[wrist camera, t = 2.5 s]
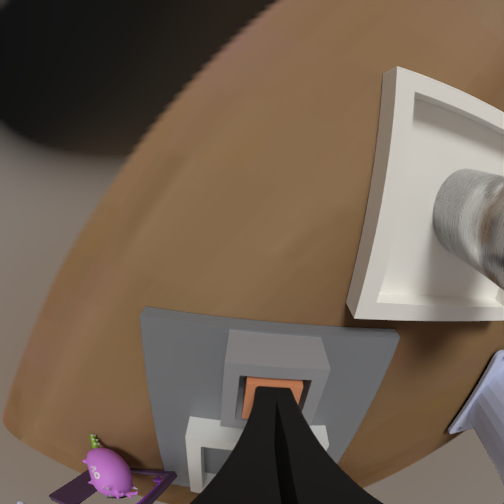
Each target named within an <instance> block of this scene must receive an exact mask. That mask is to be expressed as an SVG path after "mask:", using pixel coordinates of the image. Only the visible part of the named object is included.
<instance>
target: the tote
mask: <svg viewBox="0 0 504 504" xmlns="http://www.w3.org/2000/svg"><path fill="white" fill-rule="evenodd" d="M460 169H474V170H478V171H483V172H488V173H492V174H497V175H501V176H504V112H502V111H500V110H498V109H496V108H495V107H493V106H491V105H489V104H487V103H485V102H483V101H481V100H479V99H477V98H475V97H473V96H471V95H469V94H467V93H465V92H462V91H460V90H458V89H456V88H453V87H451V86H449V85H446V84H444V83H442V82H439V81H437V80H434V79H432V78H429V77H427V76H424V75H421V74H418V73H416V72H413V71H410V70H407V69H404V68H401V67H398V66H396V67H394V68H392V69H390V70H389V71H387V72H385V73H383V81H382V95H381V107H380V117H379V127H378V136H377V144H376V152H375V159H374V166H373V173H372V179H371V186H370V192H369V198H368V203H367V209H366V214H365V220H364V225H363V230H362V235H361V240H360V244H359V249H358V254H357V258H356V263H355V267H354V271H353V276H352V280H351V284H350V288H349V292H348V296H347V300H346V304H347V306H348V308H349V310H350V312H351V313H352V315H353V317H354V319H375V320H404V321H497V320H504V290H503V289H501V288H500V287H499V286H497V285H496V284H495V283H493V282H492V281H490V280H489V279H488V278H486V277H485V276H484V275H482V274H481V273H479V272H478V271H477V270H475V269H474V268H472V267H471V266H470V265H468V264H467V263H465V262H464V261H462V260H461V259H459V258H458V257H456V256H455V255H453V254H452V253H450V252H449V251H448V250H446V249H445V248H444V247H443V246H442V245H441V244H440V242H439V241H438V239H437V236H436V234H435V230H434V225H433V208H434V203H435V199H436V196H437V193H438V191H439V189H440V187H441V185H442V184H443V182H444V181H445V180H446V179H447V178H448V177H449V176H450V175H451V174H452V173H454V172H456V171H457V170H460Z"/></svg>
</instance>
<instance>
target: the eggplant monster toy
mask: <svg viewBox="0 0 504 504" xmlns="http://www.w3.org/2000/svg"><path fill="white" fill-rule="evenodd" d="M95 436H96V434H95V435H93V434H91V435H90V438H91V442H92V447H93V449H92V450H90V451H89V452H88V454H87V459H84V460H82V461H83V462H84V463H86V464H87V466H88V470H87V471H85V472H84V473H82V474H81V475H80V476H78V477H77V478H75V479H73V480H72V481H70V482H69V483H67V484H66V485H64V486H63V487H61V488H60V489H58V490H56V491H55V492H53V493H52V494H50V495H49V497H50V498H51V500H53V501H55V502H57V503H59V504H80V503H81V502H83V501H84V500H85V499H87V498H88V497H90V496H91V495H92V494H94V493H95V492H96V491H97V490H98V491H99V492H100V493H102V494H104V495H106V496H108V497H109V498H118V499H120V498H124V497H127V496H128V497H129V498H132V496H131V495H136V494H137V493H138V491H136V492H130V490H131V489H137V488H136V487H134V486H133V484H132V474H131V473H136V474H144V475H154V476H157V477H156V478H154V479H153V481H154V482H157V485H156V486H155V487H154V488H153V489H152V490H151V491H150V492H149V493H148V494H147V495H146V496H145V497H144V498H143V499H142V500H140V501H139V502H138V503H137V504H153V502H154V501H155V500H156V499H157V498H158V497H159V496H160V495H161V494H162V493H163V492H164V491H165V490H166V489H167V488H168V486H169V485H170V484H171V483H172V482H173V481H174V480H175V479H176V478H177V475H176V473H175V472H174V471H158V470H146V469H136V468H129V466H128V465H127V463H126V462H125V460H124V459H123V458H122V457H121V456H120V455H119V454H117V453H116V452H114V451H113V450H110V449H107V448H100V447H99V443H97V441H98V440H99V439H98V440H97V439H96V438H95ZM159 476H166V478H165V477H162V478H160V477H159ZM163 478H165V479H164V480H163V481H162V482H161V480H162V479H163ZM125 495H127V496H125Z"/></svg>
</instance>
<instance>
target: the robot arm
mask: <svg viewBox="0 0 504 504" xmlns="http://www.w3.org/2000/svg"><path fill="white" fill-rule="evenodd" d="M472 428H474V429H475V431H476V433H477V435H478V436H479V438H480V440H481V442H482V444H483V445H484V447H485V449H486V451H487V453H488V454H489V456H490V458H491V460H492V462H493V464H494V465H495V468H496V469H497V472H498V474H499V475H500V477H501V480H502V482H503V484H504V350H500V351H498V352H496V353H495V354H494V356H493V358H492V359H491V361H490V363H489V365H488V367H487V369H486V370H485V372H484V374H483V376H482V378H481V379H480V381H479V383H478V384H477V386H476V388H475V389H474V391H473V393H472V394H471V396H470V397H469V399H468V400H467V402H466V404H465V405H464V407H463V408H462V410H461V411H460V413H459V414H458V415H457V417H456V418H455V420H454V421H453V423H452V424H451V425H450V427H449V428H448V432H449V433H450V434H453V433H457V432H461V431H464V430H468V429H472ZM17 504H25V503H23V502H22V501H18V502H17ZM190 504H383V503H381V502H380V501H378V500H377V499H376V498H374V497H373V496H371V495H370V494H369V493H367V492H366V491H365V490H364V489H362V488H361V487H360V486H359V485H358V484H356V483H355V482H354V481H353V480H352V479H351V478H350V477H349V476H348V475H347V474H346V473H345V472H344V471H343V470H342V469H341V468H340V467H339V466H338V465H337V464H336V463H335V462H334V460H333V459H332V458H331V457H330V456H329V454H328V453H327V452H326V450H325V449H324V448H323V446H322V445H321V444H320V442H319V441H318V439H317V438H316V436H315V435H314V433H313V431H312V430H311V428H310V426H309V425H308V423H307V421H306V420H305V418H304V416H303V414H302V412H301V410H300V408H299V406H298V404H297V402H296V400H295V397H294V395H293V392H292V390H291V389H290V388H284V387H267V386H258V387H256V389H255V395H254V400H253V406H252V410H251V413H250V415H249V418H248V421H247V423H246V425H245V428H244V430H243V432H242V434H241V436H240V438H239V440H238V442H237V444H236V445H235V447H234V449H233V451H232V452H231V454H230V456H229V457H228V459H227V460H226V462H225V463H224V465H223V466H222V467H221V469H220V470H219V472H218V473H217V474H216V476H215V477H214V478H213V479H212V480H211V482H210V483H209V484H208V485H207V486H206V487H205V489H204V490H203V491H202V492H201V493H200V494H199V495H198V496H197V497H196V498H195V499H194V500H193V501H192V502H191V503H190ZM503 504H504V503H503Z"/></svg>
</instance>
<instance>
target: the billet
mask: <svg viewBox="0 0 504 504" xmlns="http://www.w3.org/2000/svg"><path fill="white" fill-rule="evenodd" d="M433 225H434V230H435V234H436V236H437V239H438V241H439V242H440V244H441V245H442V246H443V247H444V248H445V249H446V250H448V251H449V252H450V253H452V254H453V255H455V256H456V257H458V258H459V259H461V260H462V261H464V262H465V263H467V264H468V265H470V266H471V267H472V268H474V269H475V270H477V271H478V272H479V273H481V274H482V275H484V276H485V277H486V278H488V279H489V280H490V281H492V282H493V283H495V284H496V285H497V286H499V287H500V288H501V289H503V290H504V176H501V175H497V174H492V173H488V172H483V171H478V170H474V169H460V170H457V171H456V172H454V173H452V174H451V175H450V176H449V177H448V178H447V179H446V180H445V181H444V182H443V184H442V185H441V187H440V189H439V191H438V193H437V196H436V199H435V203H434V208H433Z"/></svg>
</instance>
